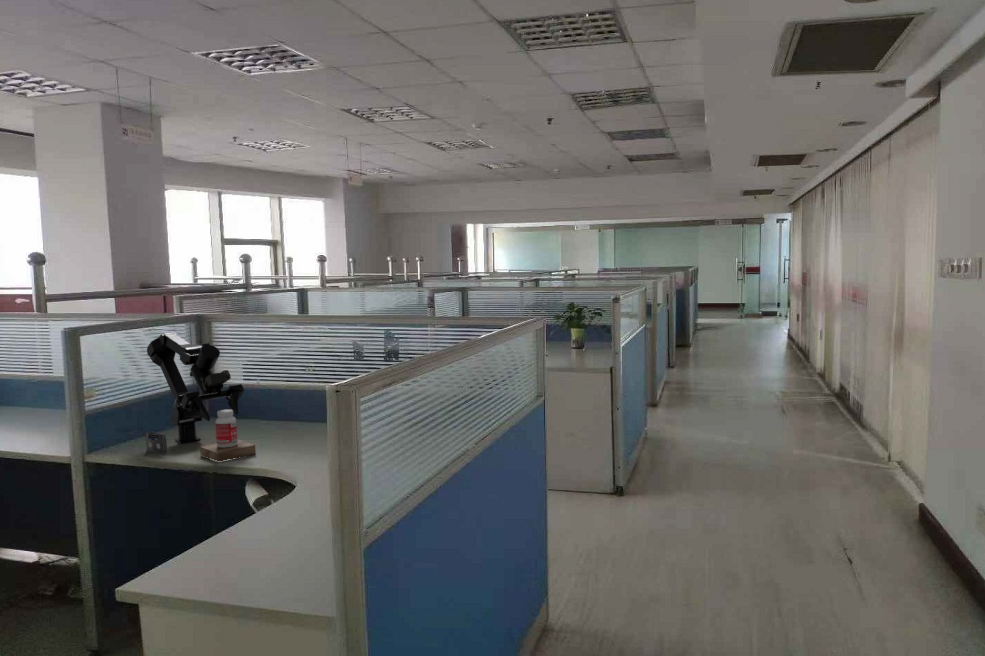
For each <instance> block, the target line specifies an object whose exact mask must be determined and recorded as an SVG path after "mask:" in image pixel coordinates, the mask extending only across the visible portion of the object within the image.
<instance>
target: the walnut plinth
mask: <svg viewBox="0 0 985 656" xmlns="http://www.w3.org/2000/svg"><path fill="white" fill-rule="evenodd" d="M237 440H238V444H237V445H236V446H233V447H228V448H220V447H218V446H217V442H216V443H211V444H206V445H201V446H199V450H200V456H201V455H202V456H205V457H208V458H211V459H214V460H217V461H223V460H227V459H233V458H239V457H243V458H245V457H244V456H247V457H250V456H249V455H251V456H254V455H253V454H255V455H256V453H257V452H256V444H253V443H251V442H248V441H244V440H242V439H238V438H237ZM202 456H201V457H202ZM239 459H240V458H239Z"/></svg>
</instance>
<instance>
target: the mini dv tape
mask: <svg viewBox="0 0 985 656" xmlns="http://www.w3.org/2000/svg"><path fill="white" fill-rule="evenodd" d="M144 437H145V446H146V448H145V449H146V451H147V452H151V453H156V454H161V453H164V454H167V453H168V444H167V436H166V434H163V433H162V434H161V433H157V432H156V433H155V432H149V431H148V432H145V436H144ZM166 452H167V453H166Z"/></svg>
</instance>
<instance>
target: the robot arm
mask: <svg viewBox="0 0 985 656" xmlns="http://www.w3.org/2000/svg"><path fill="white" fill-rule="evenodd" d="M146 352H147V356H148V357H149V358H150V360H151V362H152V363H153V364H155V365H157V366H158V367H160V369H161V372H162V374H163V376H164V379H165V380H166V383H167V385H168V387H169V389H170V392H171V395H172V396H173V398H174V403H173V406H172V409H173V410H172V413H171V415H170V418H169V419H170V422H171V423H170V424H171V425H174V426H177V434H178V437H177V438H176V437H175V439H174V440H175V441H176V442H178V443H179V444H185V443H191V441H192V442H196V440H197V441H201V439H202V438H201V437H198V436H197V424H196V423H197V422H202V421H203V419H204V420H206V421H207V422H210V421H211V417H210V415H209V412H208V411H207V409H206V406H205V404H204V402H203V401H208V400H209V401H210V400H217V399H222V398H225V399H226V400H227V404H228V406H229V407H230V410H233V415H235V416H238V415H239V405H238V404H239V403H238V401H239V400H240V399H241V397H242V395H243V393H244V392H245V388H244V386H243V384H241V383H236V384H235V383H234V384H230V385H229V386H228V388H227V390H222V389H224V384H225V383H227V382H228V381H230V380H231V379H232V376H231V373H230V372H229V370H228V369H225V370H222V371H220V372H215V373H214V372H213V371H212V370H213V369H214V368H215V366H216V363H217V362H218V359H219V357H220V355H221V351H220V350H219V348H218V347H216V346H213V345H211V344H210V343H209V342H203V343H202V345H200V344H192V343H190V342H188V341H187V340H186V339H183V338H182V337H180V336H179V335H178V333H177V332H163V333H161V334H160V335H159V336H158V337H156V338H155V339H154V340H151V341H150V343H149V344H148V345H147V348H146ZM176 354H177V355H178V356H179V361H180V362H181V363H183V365H184V366H191V368H190V373H189V377H193V379H194V381H195V383H196V387H195V389H196V390H193V391H189V390H188V387H187V386H186V383H185V381H184V379H183V376H182V375H181V372H180V370H179V368H178V365H177V363H176V362H175V356H176Z"/></svg>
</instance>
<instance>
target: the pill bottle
mask: <svg viewBox="0 0 985 656" xmlns="http://www.w3.org/2000/svg"><path fill="white" fill-rule="evenodd" d="M216 415H217V418H216V419H215V421H214V424H215V437H216V438H215V439H216V443H217V446H218V447H220V448H228V447H233V446H236V445H237V444H238V440H237V439H238V429H237V428H238V426H237V425H238V424H237V419H236V417H235V416H234V412H233V410H232V409H221V410H217V412H216Z"/></svg>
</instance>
